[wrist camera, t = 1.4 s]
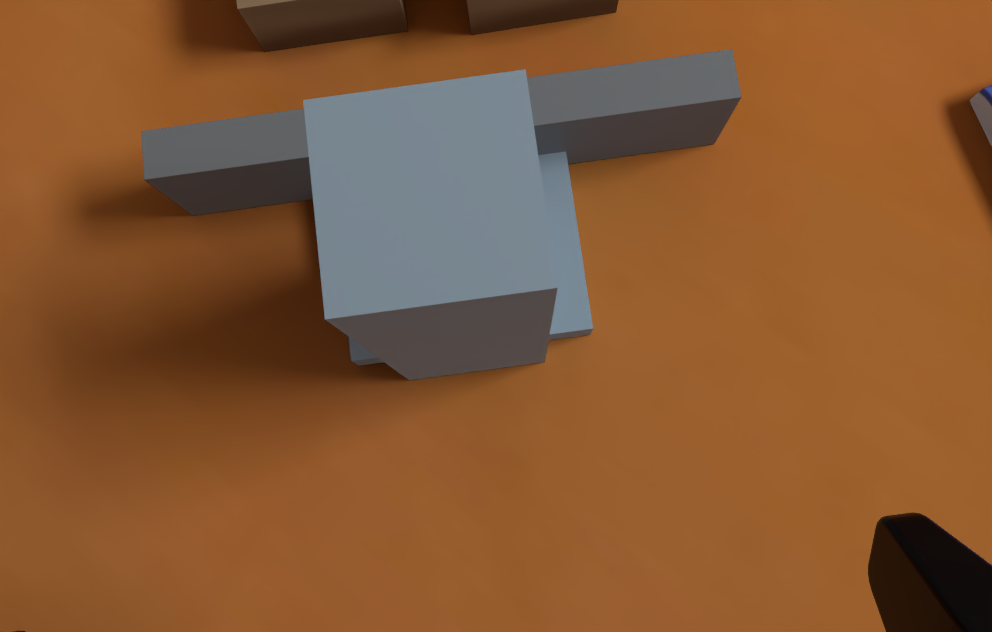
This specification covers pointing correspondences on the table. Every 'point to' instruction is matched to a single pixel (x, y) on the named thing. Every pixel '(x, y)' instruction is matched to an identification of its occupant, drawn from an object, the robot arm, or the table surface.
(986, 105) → the hard drive
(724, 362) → the table surface
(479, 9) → the walnut block
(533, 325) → the scraper
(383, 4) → the walnut block
